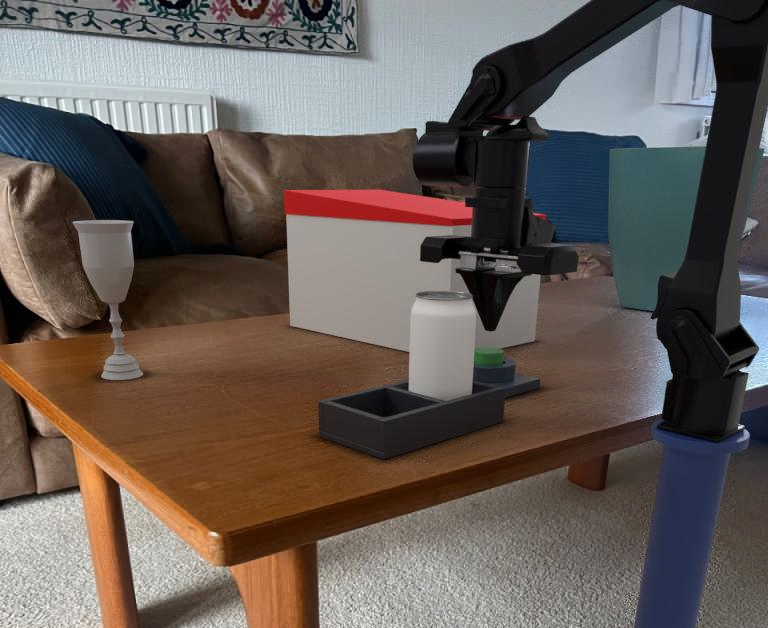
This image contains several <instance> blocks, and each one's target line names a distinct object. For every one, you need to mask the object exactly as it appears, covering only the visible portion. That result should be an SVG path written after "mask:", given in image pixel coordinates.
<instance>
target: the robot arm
mask: <svg viewBox="0 0 768 628" xmlns="http://www.w3.org/2000/svg"><path fill="white" fill-rule="evenodd" d="M679 6H680V7H681V6H682V7H684V8H687V9H690V10H692V11H693V10H694V11H696V12H699V13H703V14H704V15H708V16H711V20H710V51H711V57H712V64H713V70H714V77H715V83H716V84H715V94H714V100H713V106H712V111H711V117H710V121H709V126H708V131H707V132H708V133H707V137H706V144H705V146H706V149H705V154H704V159H703V165H702V170H701V176H700V181H699V187H698V192H697V198H696V203H695V209H694V214H693V220H692V225H691V231H690V236H689V241H688V247H687V252H686V255H685V258H684V260H683V262H682V264H681V266H680V268H679V269H678V271H677V272H676V273H671V274H666V275H662V276H660V277H659V281H658V298H657V304H656V308H655V310H654V311H652V314H651V316H650V319H651V320H655V319H657V320H656V322H655V334H656V337H657V340H658V341H660V343H661V344H662V346H663V347H664V349H665V350H666V353H667V358H668V365H669V368H670V369H669V370H670V373H671V375H672V376H671V378H670V379H668V380H666V385H665V390H664V391H665V392H664V397H663V403H662V410H661V416H660V417H661V418H662V420H665V421H663V422H660V423H658V424H657V429H659V430H664V431H668V432H672V433H676V434H680V435H684V436H688V437H692V438H697V439H701V440H705V441H709V442H713V443H719V442H722V441H724V440H726V439H728V438H730V437H732V436H734V435H736V434H738V433H740V432H742V431H744V429H745V427H746V426H745V425H744V424H740V419H741V415H742V409H743V404H744V399H745V395H746V389H747V384H748V380H749V375H750V373H749V372H747V371H741V370H742V369H744V368H748V367H750V366H751V365H752V363H753V361H754V359H755V358H756V356H757V354H758V353H759V351H760V347H759V345H758V343H756V341H755V340H754V339H753V337H752V336H751V334H750V333H749V332H748V331H747V329H746V328H745V327H744V326H743V324H742V323H741V307H742V306H741V305H742V284H741V277H740V271H739V265H738V252H739V247H740V244H739V243H741V241H740V238H741V233H742V229H743V224H744V219H745V214H746V210H747V205H748V200H749V195H750V190H751V186H752V181H753V176H754V171H755V166H756V162H757V157H758V152H759V148H760V147H761V142H762V137H763V132H764V128H765V123H766V119H767V114H768V0H589V1H588V2H586V3H585V4H583V5H582V6H580V7H579V8H578V9H576V10H574V11H573V12H572V13H570V14H569V15H568V16H566V17H564V18H563V19H562V20H560V21H559V22H557V23H556V24H555V25H553V26H552V27H550V28H549V29H548V30H547V31H545V32H544V33H541V34H538V35H537V36H535V37H532V38H529V39H525V40H521V41H518V42H514V43H511V44H508V45H506V46H504V47H502V48H500V49H497V50H495V51H493V52H491V53H488V54H486V55H485V56H483V57H482V58H480V59H479V60H478V61H477V62H476V64H475V65H474V67H473V68H472V71H471V73H472V75H471V77H470V80H469V83H468V85H467V87H466V89H465V91H464V93H463V94H462V96H461V97H460V100H459V101H458V103H457V105H456V106H455V108H454V110H453V112H452V113H451V115H450V117H449V119H448V121H440V120H427V121H426V122H425V125H424V127H425V129H424V133H423V134H422V135H421V136H420V137H419V138H418V140H417V142H416V145H415V148H414V151H413V152H412V168H413V173H414V175H415V177H416V179H417V181H418V182H419V183H420V184H421V185H423V186H427V187H429V186H430V187H432V186H433V187H468V186H471V185H472V184H473V188H472V189H473V190H472V196H465V199H464V200H465V201H464V203H465V207H473V208H472V227H471V236H455V235H445V236H429V237H426V238H425V239H424V241H423V242H422V244H421V246H420V261H422V262H431V263H440V261H441V260H443V259H450V258H452V259H460V268H456V269H455V272H456V273H458V274H460V275H461V276H462V278H463V280H464V282H465V284H466V286H467V288H468V290H469V292H470V294H472V295H473V297H472V299H473V301H474V304H475V306H476V309H477V311H478V314H479V316H480V319H481V321H482V324H483V327H484V329H485V331H490V332H491V331H495V330H496V328H497V326H498V323H499V321H500V319H501V316H502V314H503V312H504V309H505V307H506V304H507V302H508V300H509V298H510V296H511V294H512V292H513V290H514V288H515V286H516V285H517V284H518V283H519V282H520V281H521V280H522V279H523V278H524V277H525V276H531V275H532V274H536V275H541V276H557V275H564V274H570V273H577V272H578V267H579V266H578V265H579V254H578V251H577V249H576V248H575V245H574V244H567V243H566V244H564V243H553V242H552V240H553V236H554V233H555V230H556V227H555V225H553V224H552V223H550V222H548V221H547V220H546V221H545V220H544V219H542V218H541V217H539V216H536V215H534V214H533V213H534V211H533V209H534V202H533V197H526V192H527V190H526V188H527V178H528V166H529V165H528V163H529V152H530V151H529V150H530V143H532V142H547V141H549V134H548V133H547V132H546V131H545V130H544V128H542V126H541V125H540V124H539V123H538V120H537V118H536V117H535V116H532V115H533V114H534V113H535V112H536V111H537V110H538V109H539V108H541V107H542V106H543V105H544V104H545V103H546V102H548V101H549V100H550V99H551V98H552V97H553V96H554V94H555V93H556V91H557V90H558V88H559V87H560V85H561V84H562V82H563V81H564V80H566V78H568V76H570V75H571V74H572V73H573V72H575V71H577V70H578V69H580V68H581V67H584V65H586V64H588V63H589V62H591V61H592V60H594V59H595V58H597V57H599V56H600V55H602V54H604V53H605V52H606V51H608V50H610V49H612V48H613V47H614V46H616V45H617V44H619V43H620V42H622V41H624V40H625V39H627V38H628V37H630V36H631V35H633V34H634V33H636V32H638V31H639V30H641V29H642V28H644V27H645V26H647V25H649V24H650V23H651V22H653V21H655V20H656V19H658V18H660V17H662V16H663V15H664V14H666V13H668V12H669V11H671V10H672V9H674V8H677V7H679ZM515 121H517V122H516V123H515V124H513V123H514V122H515ZM485 131H486V132H487V133H486V135H484V132H485ZM741 239H742V238H741ZM484 248H490V250H484ZM503 251H508V252H503ZM494 262H496V263H495V266H494Z"/></svg>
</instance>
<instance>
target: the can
mask: <svg viewBox="0 0 768 628" xmlns="http://www.w3.org/2000/svg"><path fill="white" fill-rule="evenodd" d="M415 295H416V301H415V303H414V305H413V307H412V309H411V320H410V352H409V355H408V357H409V359H408V360H409V361H408V380H409V391H410V392H414V393H418V394H422V395H425V396H429V397H433V398H436V399H440V400H444V401H449V400H452V399H456V398H460V397H463V396H467V395H471V394H472V382H473V365H474V347H475V329H476V310H475V307H474V305H473V302H472V297H473V295H472V294H469V293H465V292H458V291H424V292H419V293H416V294H415Z"/></svg>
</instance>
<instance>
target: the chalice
mask: <svg viewBox="0 0 768 628" xmlns="http://www.w3.org/2000/svg"><path fill="white" fill-rule="evenodd" d="M134 223H135V221H133V220H122V219H121V220H119V219H91V220H77V221H75V220H74V221H72V225H73V226H74V228H75V229H76V231H77V234H78V240H79V247H80V255H81V256H80V257H81V263H82V268H83V270H84V272H85V275H86V277H87V279H88V281H89V283H90V284H91V286H92V288H93V290H94V291H95V293H96V295H97V296H98V298H99V299H100V301H101V302H103V303H105V304H107V305H108V306H109V309H110V317H109V319H108V322H109V323H110V324H111V326H112V327H111V328H112V333H111V334H110V338H111V339H112V340H113V343H114V351H113V352H112V355H109V356H107V358H106V360H105V361H104V363H105V364H104V365H103V368H102V370H103V371H102V373H101V376H100V377H101V378H102V379H104V380H110V381H125V380H133V379H137V378H140V377H142V376H143V375H144V372H143V371H142V370H141V369H140V365H139V363H137V359H136V358H135V357H134V356H133V355H131V354H127V351H125V349H124V347H123V341H124V338H125V337H126V335H125V334H124V333H123V332H122V329H121V325H122V322H123V319H122V318H121V315H120V313H119V304H121V303H123V302H125V300H126V298H127V295H128V291H129V289H130V285H131V283H132V278H133V273H134V269H135V258H134V249H133V239H132V232H131V231H132V228H133V227H134V226H133V225H134Z"/></svg>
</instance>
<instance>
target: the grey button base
mask: <svg viewBox="0 0 768 628" xmlns="http://www.w3.org/2000/svg"><path fill="white" fill-rule="evenodd" d="M516 366H517V362H516V361H515V360H513V359H511V358H509V357H503V364H502V365H493V366H487V365H478V364H474V365H473V380H474V381H478V382H482V383H487V384H491V385H495V386H499V387H504V388H506V391H505V399H506V398H510V397H513V396H517V395H520V394H524V393H527V392H531V391H535V390H537V389H540V388H541V386H540V385H541V378H539V377H534V376H530V375H526V374H521V373H517V372H516Z"/></svg>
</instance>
